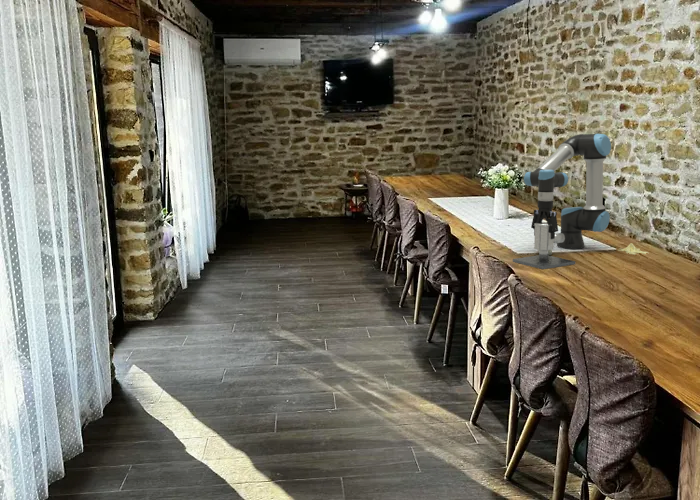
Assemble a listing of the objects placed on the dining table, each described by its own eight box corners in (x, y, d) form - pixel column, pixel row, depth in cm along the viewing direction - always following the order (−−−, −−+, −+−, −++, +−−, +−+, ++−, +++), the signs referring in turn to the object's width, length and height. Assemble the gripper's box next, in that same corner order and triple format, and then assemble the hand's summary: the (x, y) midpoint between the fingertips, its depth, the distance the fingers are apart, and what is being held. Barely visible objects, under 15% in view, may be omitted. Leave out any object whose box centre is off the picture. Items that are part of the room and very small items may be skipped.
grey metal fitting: (543, 250, 308) (544, 225, 305) (529, 247, 316) (530, 223, 314) (568, 247, 315) (569, 222, 313) (553, 244, 324) (554, 220, 321)
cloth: (605, 251, 354) (605, 240, 353) (635, 249, 356) (636, 239, 354) (625, 258, 332) (626, 247, 331) (658, 257, 334) (658, 246, 333)
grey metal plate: (544, 257, 330) (544, 239, 328) (575, 264, 311) (576, 245, 309) (512, 261, 321) (512, 244, 319) (542, 269, 301) (543, 250, 299)
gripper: (524, 199, 318) (523, 241, 322) (556, 202, 298) (554, 247, 302) (535, 198, 321) (534, 240, 325) (567, 201, 302) (565, 246, 306)
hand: (543, 243), depth 314 cm, fingers closed on grey metal fitting, 9 cm apart
